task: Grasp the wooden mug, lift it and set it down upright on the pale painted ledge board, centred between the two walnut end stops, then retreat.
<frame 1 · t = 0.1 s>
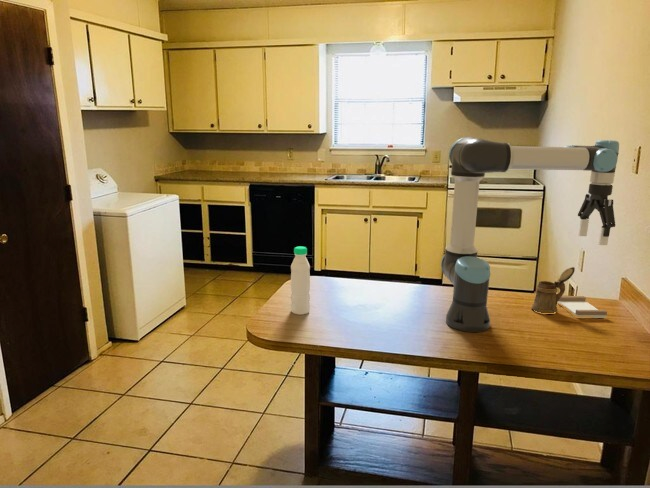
hand: (592, 240, 184), 28 cm above the countertop, fingers open, 13 cm apart
wooden mug: (549, 311, 189), on the countertop
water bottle: (300, 312, 185), on the countertop
ledge board: (579, 310, 190), on the countertop
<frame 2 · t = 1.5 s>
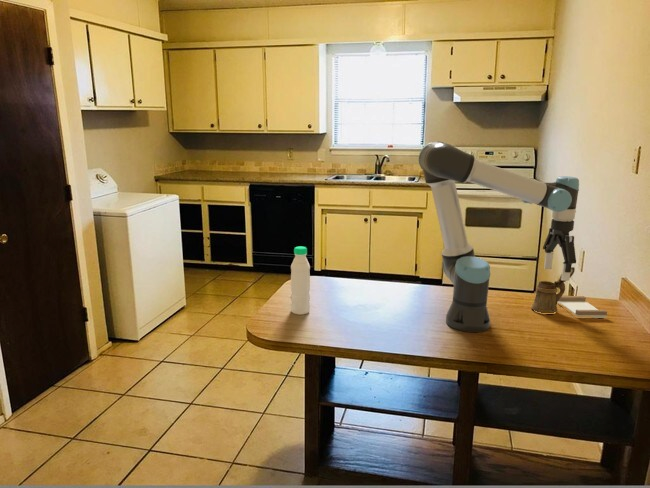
hand: (556, 274, 185), 15 cm above the countertop, fingers open, 13 cm apart
nothing on the countertop moved.
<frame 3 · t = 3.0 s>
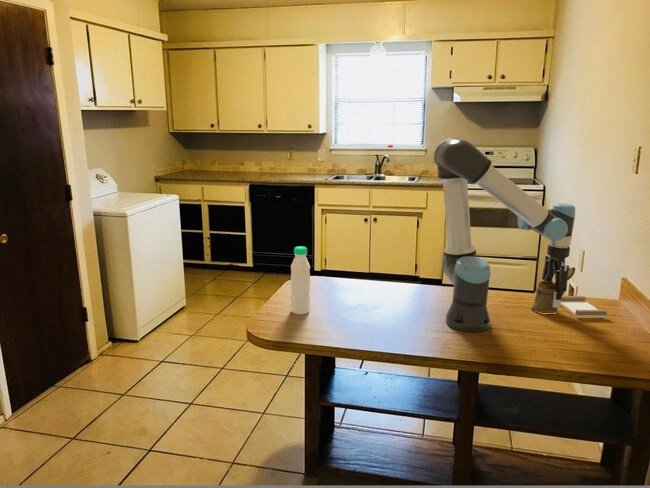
hand: (551, 303, 189), 3 cm above the countertop, fingers closed on wooden mug, 7 cm apart
wooden mug: (550, 311, 189), on the countertop, touching gripper
everything else where it was.
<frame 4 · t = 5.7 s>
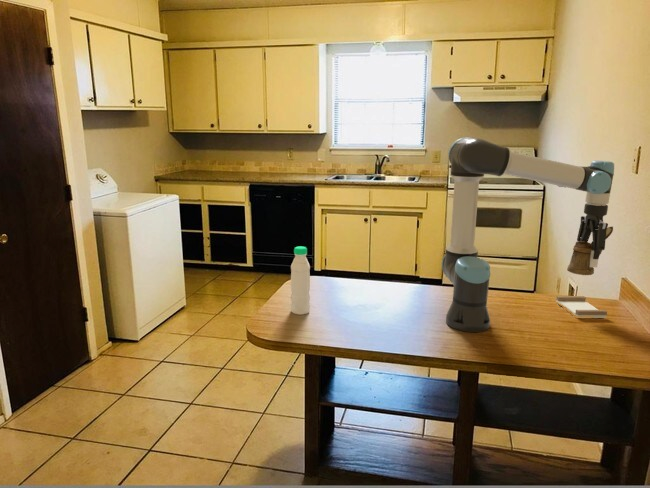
hand: (587, 263, 185), 19 cm above the countertop, fingers closed on wooden mug, 7 cm apart
wooden mug: (586, 272, 186), point 16 cm above the countertop, touching gripper
everything else where it was.
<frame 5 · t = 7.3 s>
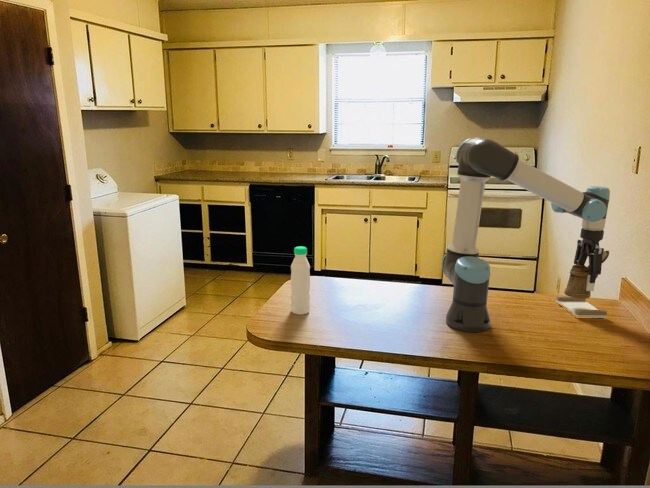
hand: (583, 287, 188), 10 cm above the countertop, fingers closed on wooden mug, 7 cm apart
wooden mug: (583, 295, 188), point 6 cm above the countertop, touching gripper
everything else where it was.
when the fingers open (6 cm above the countertop, at t = 8.4 s): wooden mug drops 1 cm, resting on ledge board.
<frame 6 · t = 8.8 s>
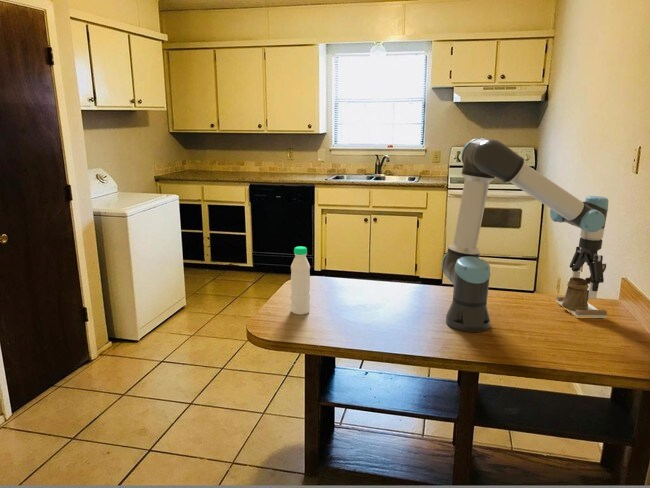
hand: (582, 292, 188), 7 cm above the countertop, fingers open, 12 cm apart
wooden mug: (580, 308, 189), point 1 cm above the countertop, touching ledge board
everything else where it was.
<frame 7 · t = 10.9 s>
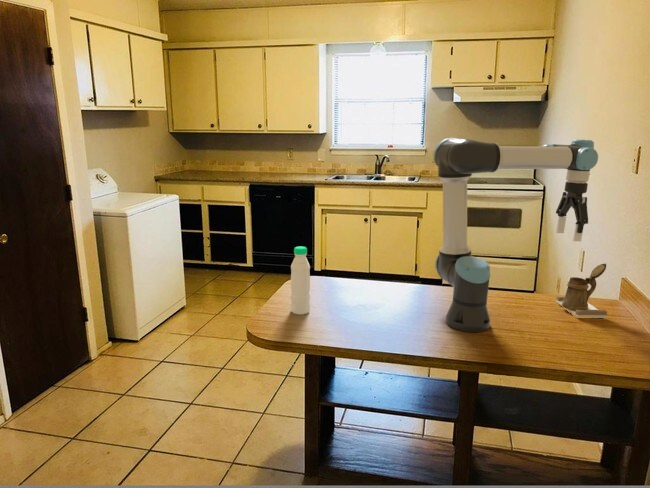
hand: (568, 236, 189), 28 cm above the countertop, fingers open, 13 cm apart
nothing on the countertop moved.
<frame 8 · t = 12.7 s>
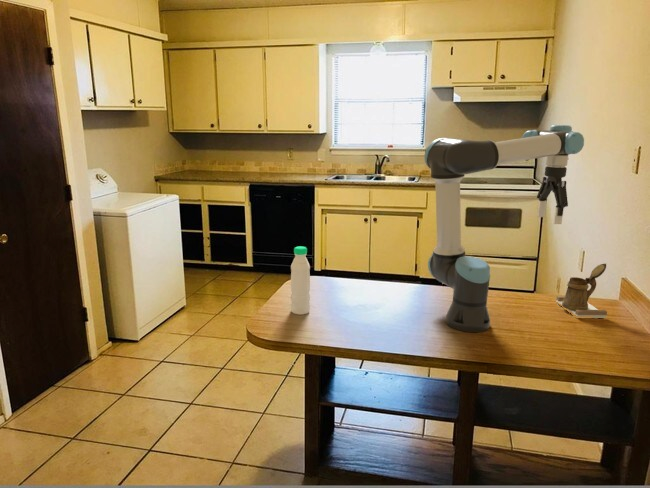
hand: (548, 220, 195), 33 cm above the countertop, fingers open, 13 cm apart
nothing on the countertop moved.
at the end: wooden mug 0.5 cm from the ledge board (horizontally); wooden mug tilted 0°; wooden mug touching ledge board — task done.
